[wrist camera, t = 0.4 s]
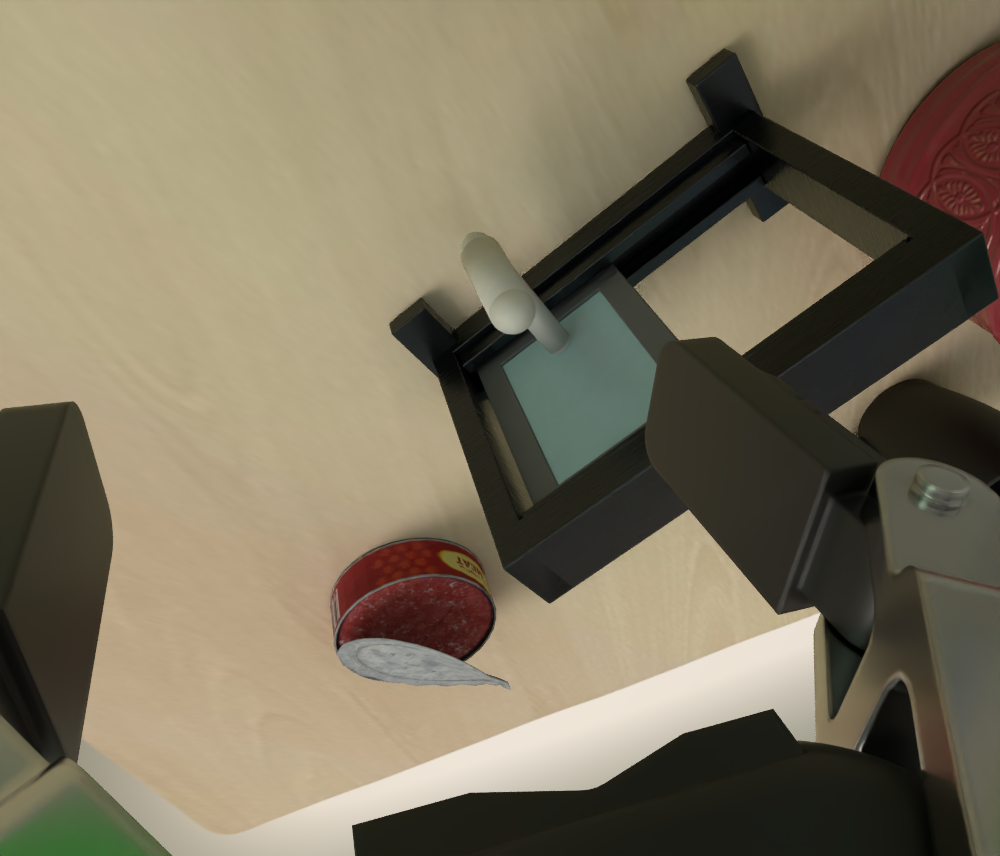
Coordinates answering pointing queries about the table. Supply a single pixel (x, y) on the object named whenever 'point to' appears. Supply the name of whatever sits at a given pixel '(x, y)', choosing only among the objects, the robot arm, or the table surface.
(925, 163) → the kitchen canister
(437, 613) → the canned food
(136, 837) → the robot arm
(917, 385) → the mug
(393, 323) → the window frame
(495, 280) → the window pane
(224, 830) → the table surface
